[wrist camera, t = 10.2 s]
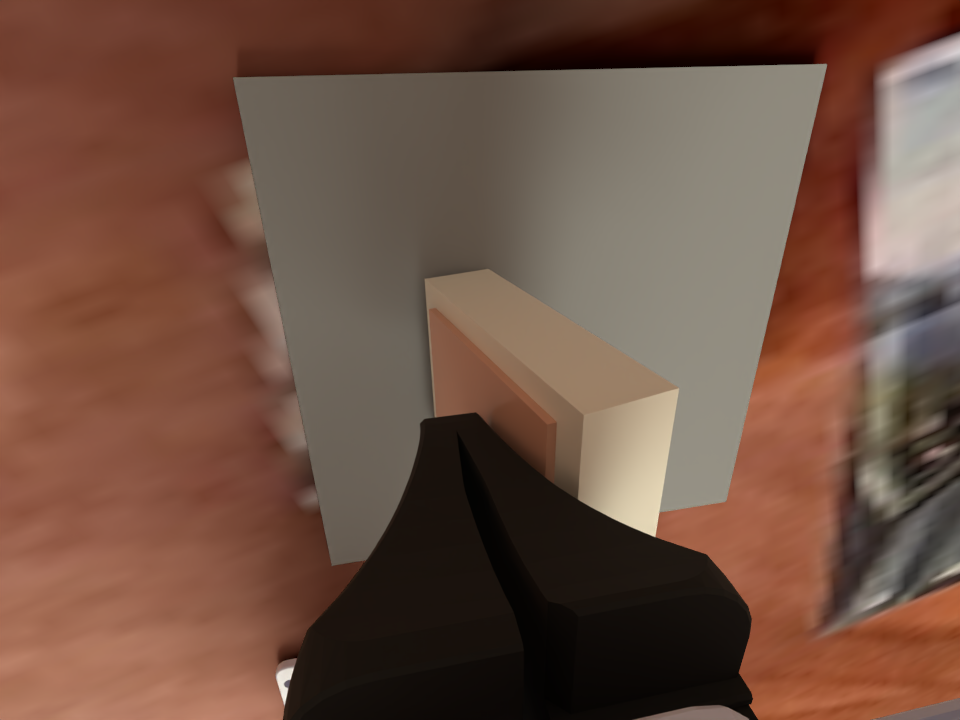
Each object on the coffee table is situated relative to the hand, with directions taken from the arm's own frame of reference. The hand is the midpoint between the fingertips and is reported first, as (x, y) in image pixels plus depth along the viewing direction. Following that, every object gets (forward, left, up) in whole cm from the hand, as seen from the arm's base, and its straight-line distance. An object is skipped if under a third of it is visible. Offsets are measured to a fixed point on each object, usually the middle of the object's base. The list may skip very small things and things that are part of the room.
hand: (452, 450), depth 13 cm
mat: (0, -4, -5) cm, 7 cm away
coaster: (0, -1, -5) cm, 5 cm away
